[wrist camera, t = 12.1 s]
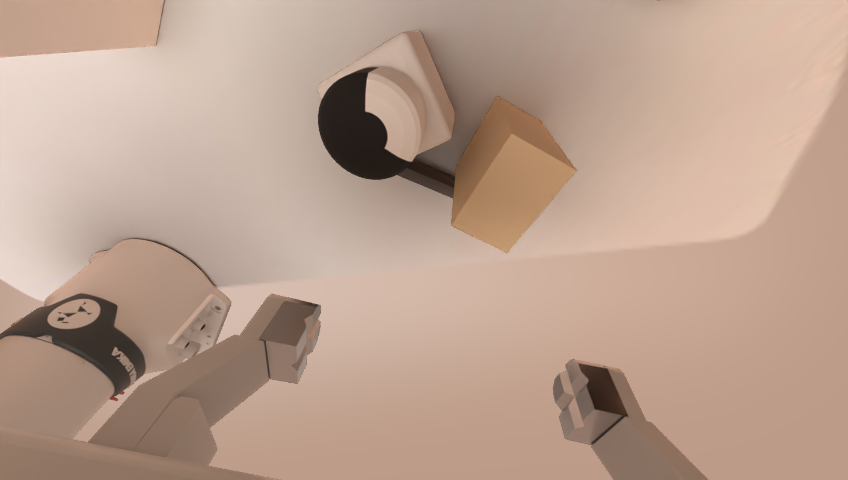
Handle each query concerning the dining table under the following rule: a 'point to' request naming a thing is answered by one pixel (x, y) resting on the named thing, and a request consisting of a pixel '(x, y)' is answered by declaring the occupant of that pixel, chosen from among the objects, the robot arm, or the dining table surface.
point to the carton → (507, 176)
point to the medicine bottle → (385, 109)
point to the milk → (76, 25)
